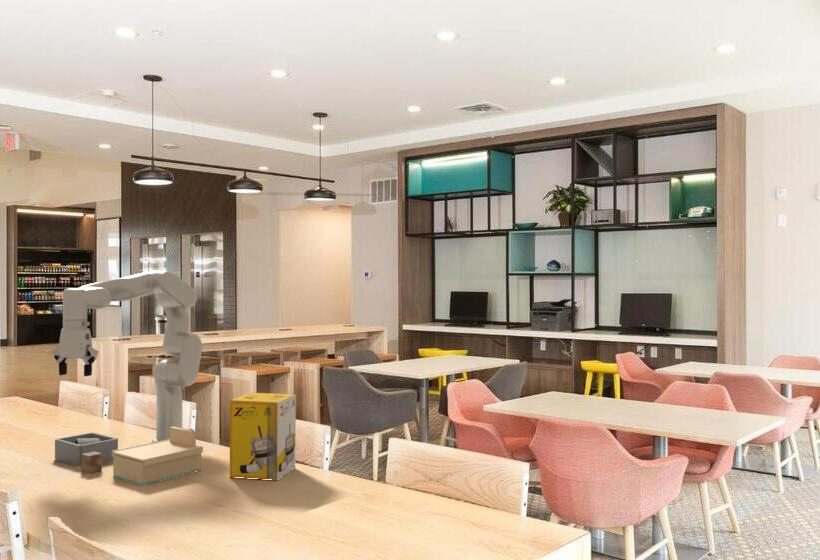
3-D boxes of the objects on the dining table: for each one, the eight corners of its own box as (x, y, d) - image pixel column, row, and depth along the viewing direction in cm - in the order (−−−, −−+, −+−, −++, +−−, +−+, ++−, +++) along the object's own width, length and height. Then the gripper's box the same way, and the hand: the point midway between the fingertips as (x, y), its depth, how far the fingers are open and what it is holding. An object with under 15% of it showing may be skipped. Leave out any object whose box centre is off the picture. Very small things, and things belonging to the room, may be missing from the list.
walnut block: (94, 469, 254) (94, 451, 254) (101, 471, 251) (101, 453, 251) (81, 472, 250) (81, 453, 250) (88, 474, 247) (88, 456, 247)
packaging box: (277, 481, 241) (277, 402, 241) (229, 478, 244) (229, 400, 244) (295, 468, 257) (295, 394, 256) (250, 465, 260) (250, 392, 260)
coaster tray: (92, 451, 278) (92, 432, 278) (118, 458, 268) (118, 438, 268) (54, 459, 266) (54, 439, 266) (79, 466, 256) (79, 446, 256)
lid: (170, 444, 263) (170, 425, 263) (202, 452, 252) (202, 432, 252) (111, 457, 245) (111, 435, 245) (144, 466, 234) (144, 444, 234)
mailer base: (171, 463, 262) (171, 442, 262) (201, 470, 253) (201, 449, 252) (113, 476, 245) (113, 455, 245) (142, 485, 235) (142, 462, 235)
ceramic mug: (103, 460, 266) (103, 438, 266) (78, 463, 261) (78, 440, 261) (95, 454, 274) (95, 433, 274) (71, 457, 270) (71, 435, 270)
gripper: (104, 324, 259) (104, 374, 259) (60, 323, 263) (60, 372, 264) (90, 326, 252) (90, 377, 252) (45, 325, 256) (45, 375, 256)
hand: (75, 375), depth 258 cm, fingers open, 9 cm apart
